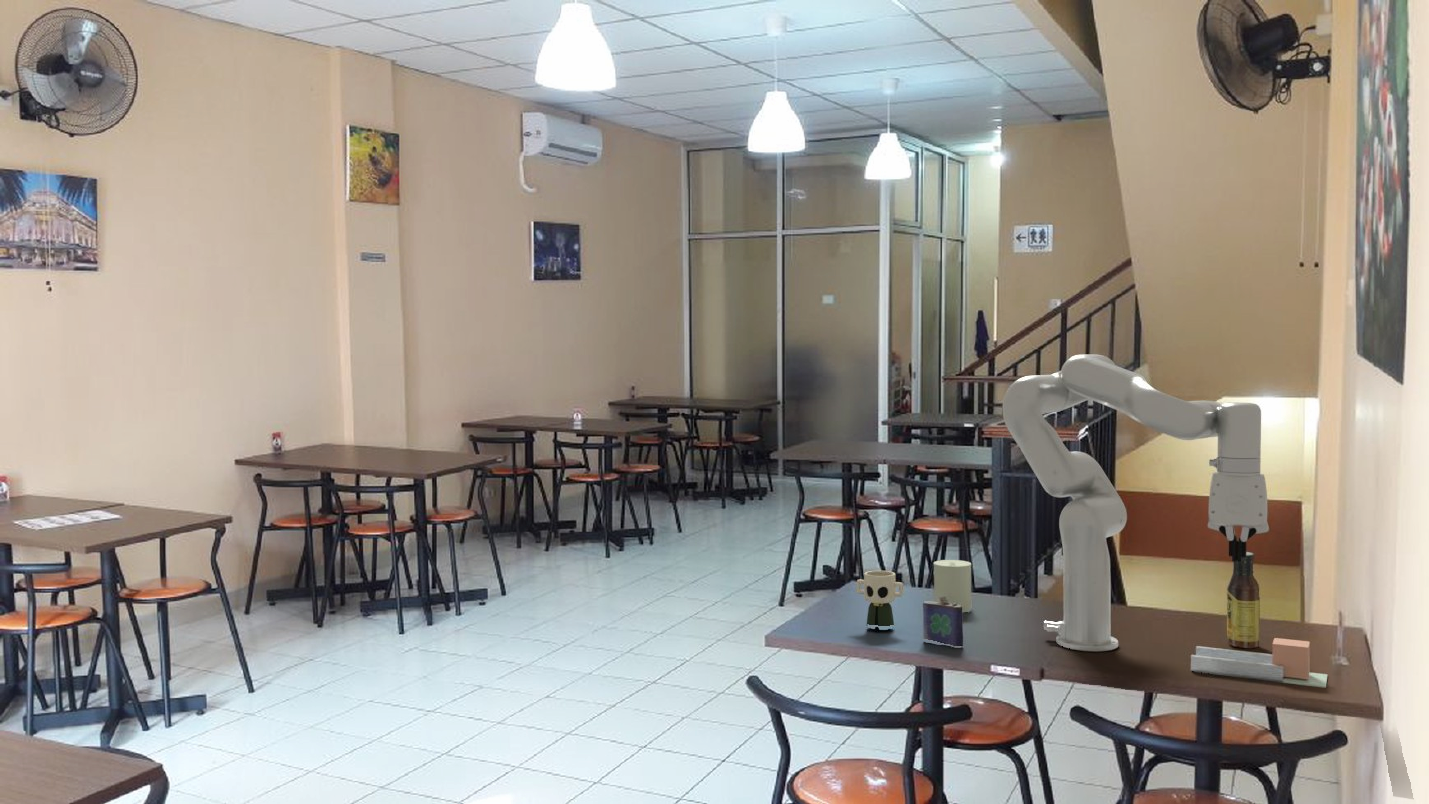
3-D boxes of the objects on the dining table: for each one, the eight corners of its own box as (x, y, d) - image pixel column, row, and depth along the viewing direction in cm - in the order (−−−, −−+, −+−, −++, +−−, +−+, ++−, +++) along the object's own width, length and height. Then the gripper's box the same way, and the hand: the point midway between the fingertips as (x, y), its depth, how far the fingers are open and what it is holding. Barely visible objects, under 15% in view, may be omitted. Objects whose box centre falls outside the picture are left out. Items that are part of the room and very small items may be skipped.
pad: (1283, 682, 205) (1283, 681, 205) (1286, 671, 213) (1286, 669, 213) (1325, 687, 202) (1325, 686, 202) (1327, 675, 209) (1327, 674, 209)
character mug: (852, 631, 249) (851, 574, 249) (862, 624, 256) (861, 568, 255) (899, 635, 245) (898, 577, 244) (907, 628, 251) (907, 572, 251)
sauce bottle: (1231, 640, 236) (1231, 548, 235) (1263, 644, 232) (1263, 551, 231) (1223, 646, 231) (1223, 553, 230) (1255, 651, 227) (1255, 556, 226)
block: (1272, 675, 208) (1272, 643, 208) (1274, 668, 212) (1274, 637, 212) (1308, 679, 205) (1308, 647, 205) (1309, 672, 209) (1309, 641, 209)
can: (934, 613, 265) (933, 564, 265) (933, 605, 274) (932, 557, 274) (973, 614, 264) (972, 564, 263) (970, 605, 273) (970, 558, 273)
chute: (1190, 671, 213) (1190, 656, 213) (1196, 660, 221) (1196, 645, 221) (1283, 682, 205) (1283, 666, 205) (1286, 671, 213) (1286, 655, 213)
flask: (921, 642, 238) (920, 593, 238) (927, 640, 240) (927, 591, 240) (959, 649, 232) (959, 599, 232) (966, 646, 234) (966, 597, 234)
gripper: (1194, 466, 212) (1193, 560, 213) (1280, 470, 205) (1279, 567, 205) (1199, 463, 219) (1198, 554, 220) (1283, 466, 211) (1282, 561, 212)
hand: (1237, 560), depth 212 cm, fingers closed
